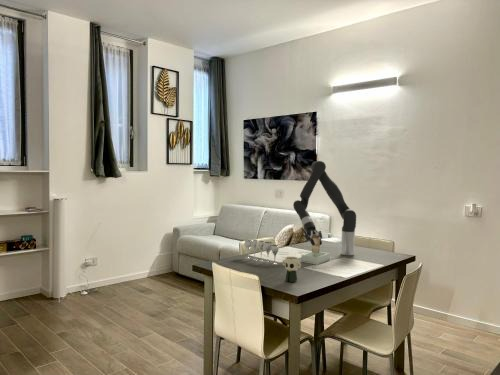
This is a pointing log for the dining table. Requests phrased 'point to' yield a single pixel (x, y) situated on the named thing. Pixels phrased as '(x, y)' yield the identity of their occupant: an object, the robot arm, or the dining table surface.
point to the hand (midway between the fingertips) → (317, 244)
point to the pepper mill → (316, 243)
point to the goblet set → (261, 248)
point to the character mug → (291, 268)
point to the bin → (315, 257)
